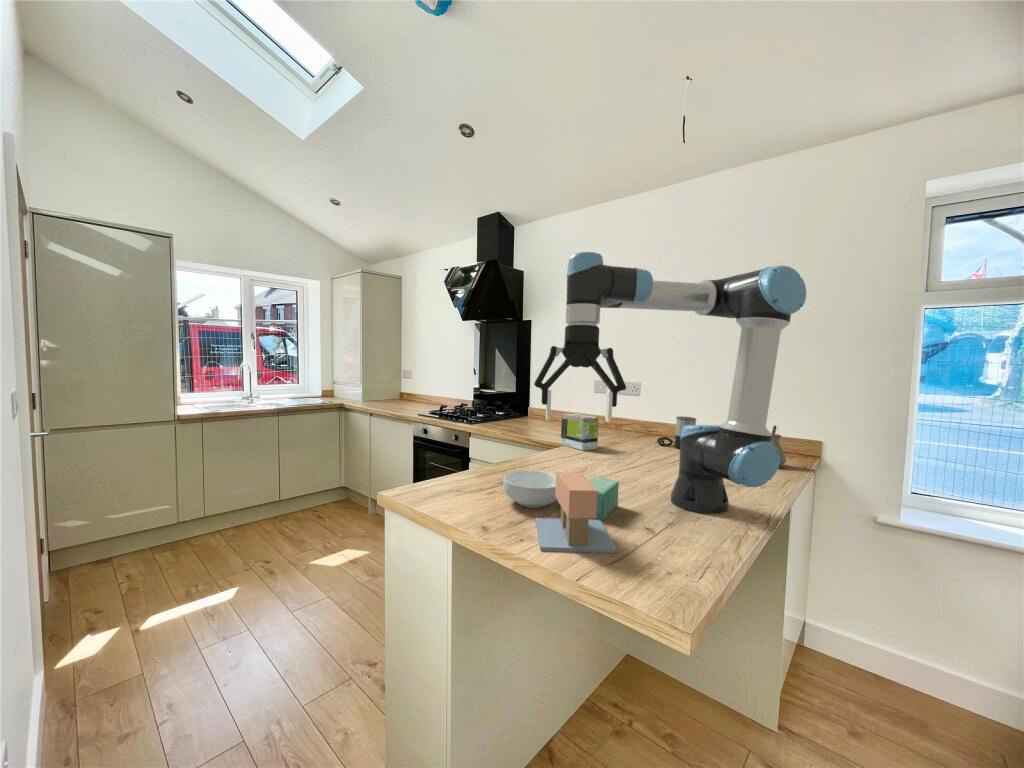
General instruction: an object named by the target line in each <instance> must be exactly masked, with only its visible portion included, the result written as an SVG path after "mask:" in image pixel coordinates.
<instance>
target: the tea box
mask: <svg viewBox="0 0 1024 768" xmlns="http://www.w3.org/2000/svg"><path fill="white" fill-rule="evenodd" d="M599 419H600V418H599V416H591V415H586V414H585V415H584V414H580V413H567V414H566V413H565V414H561V424H560V425H561V426H560V427H561V429H560V445H562V446H565V447H569V448H573V449H576V450H581V451H591V450H596V449H598V440H599V439H598V437H599Z"/></svg>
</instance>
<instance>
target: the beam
mask: <svg viewBox="0 0 1024 768" xmlns="http://www.w3.org/2000/svg"><path fill="white" fill-rule="evenodd" d="M555 475H556V488H555V497H556V499H557V500H556V501H558V503H559V505H560V508H561V507H562V509H563V510H564V512H565V514H566V515H567V517H568V518H589V519H593V518H596V512H597V492H598V490H597V489H596V488H595V487H594V486H593V485H592V484H591V483H590V482H589V481H588V480H589V479H587V478H586V477H585V476H584V475H583V473H581V472H580V471H579V472H573V471H565V472H563V471H556V472H555Z"/></svg>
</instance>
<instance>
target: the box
mask: <svg viewBox="0 0 1024 768" xmlns="http://www.w3.org/2000/svg"><path fill="white" fill-rule="evenodd" d="M587 480H588V481H589V482H590V483H591V484H592V485H593V486H594V487H595V488H596V489H597V490H598V492H597V512H596V518H592V520H600V521H604V520H605V519H606V517H608V516H609V515H610V514H611V513H612V511H613V510H614V509H615V508H616V507H617V506H618V505H619V504H618V503H619V483H620V482H619V480H615V479H611V478H605V477H600V476H594V477H592V478H590V479H587Z"/></svg>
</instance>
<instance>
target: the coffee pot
mask: <svg viewBox="0 0 1024 768" xmlns="http://www.w3.org/2000/svg"><path fill="white" fill-rule="evenodd" d="M778 428H779V426H778V425H776V424H775V425H773V426H772V431H771V432H770V433H771V434H772V436H771V444H772V445H773V446H775V447H776V449H777V452H778V453H779V456H780V462H779V467H778V469H779V468H781V467H782V466H784V465H785V464H786V462H787V459H786V455H785V453H784V451H783V449H782V446H781V443H780V438H781V437H782V435H781V434H778V433H776V432H777V430H778Z"/></svg>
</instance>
